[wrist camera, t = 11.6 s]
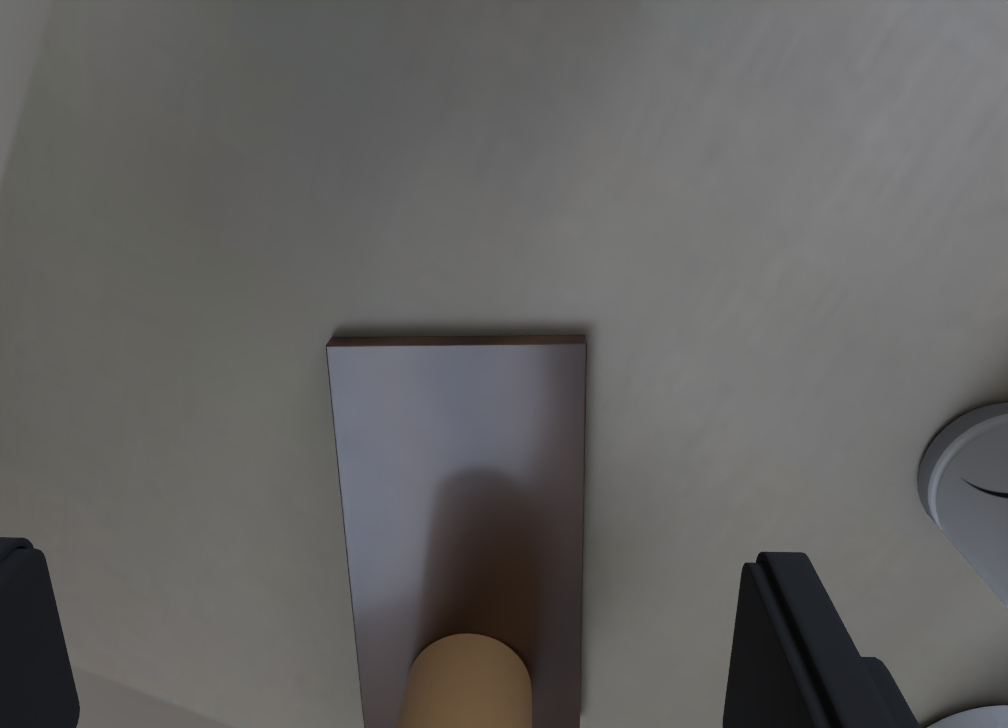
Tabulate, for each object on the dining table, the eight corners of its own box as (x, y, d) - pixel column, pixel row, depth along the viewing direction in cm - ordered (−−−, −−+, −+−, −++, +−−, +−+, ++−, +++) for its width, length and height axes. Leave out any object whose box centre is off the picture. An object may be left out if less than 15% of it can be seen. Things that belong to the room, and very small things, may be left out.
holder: (368, 718, 40) (364, 734, 39) (330, 336, 33) (325, 345, 32) (578, 718, 40) (579, 735, 39) (585, 334, 33) (586, 342, 32)
